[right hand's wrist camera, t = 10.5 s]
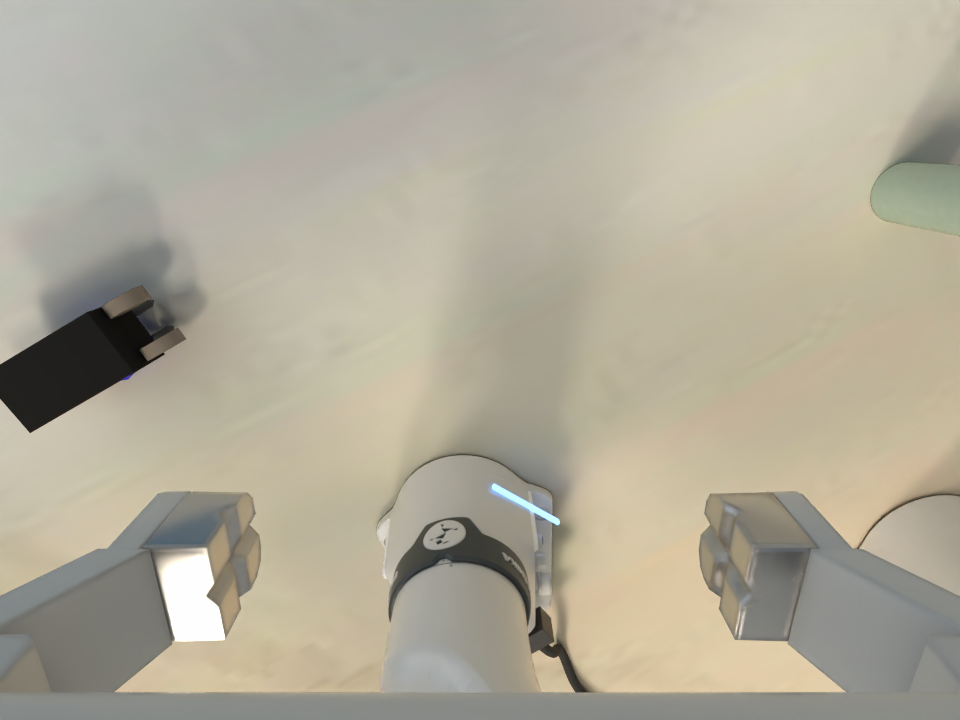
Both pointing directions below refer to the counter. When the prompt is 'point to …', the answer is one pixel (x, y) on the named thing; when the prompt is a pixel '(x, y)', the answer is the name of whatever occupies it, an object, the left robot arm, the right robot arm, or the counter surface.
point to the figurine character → (82, 359)
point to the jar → (919, 196)
